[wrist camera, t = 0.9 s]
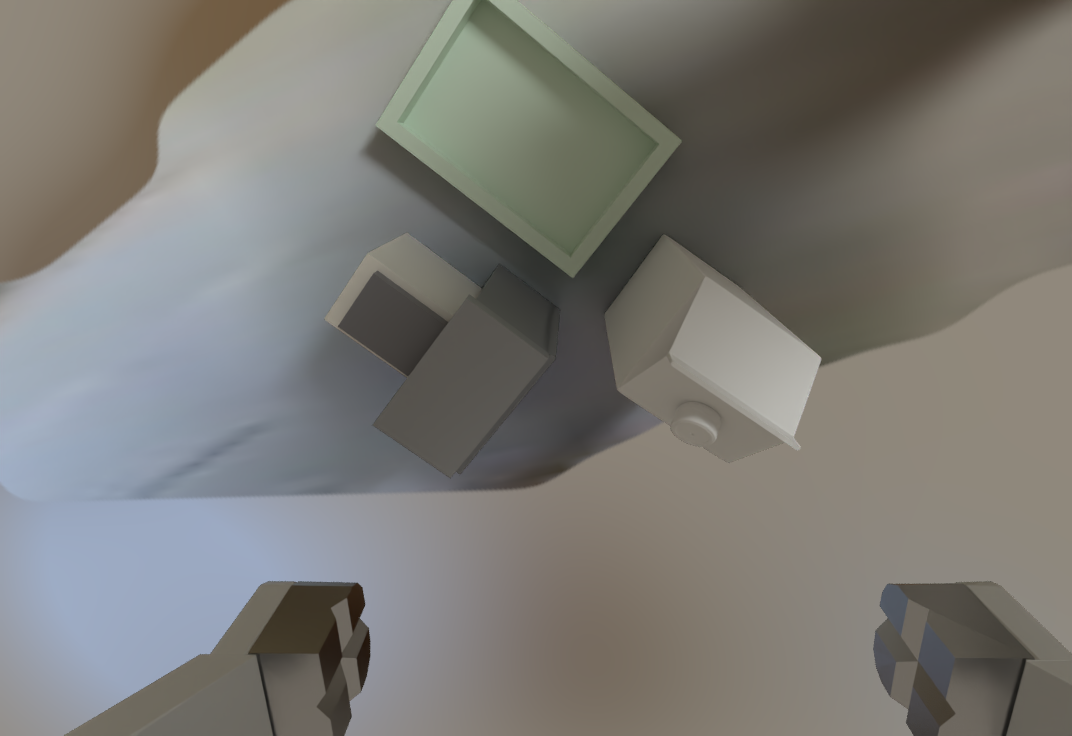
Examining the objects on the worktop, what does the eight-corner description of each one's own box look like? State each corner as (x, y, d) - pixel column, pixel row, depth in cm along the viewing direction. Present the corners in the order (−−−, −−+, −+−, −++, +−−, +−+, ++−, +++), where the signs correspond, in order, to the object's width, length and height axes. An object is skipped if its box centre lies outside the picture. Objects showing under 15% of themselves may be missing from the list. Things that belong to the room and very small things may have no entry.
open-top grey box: (493, 259, 45) (466, 298, 33) (560, 310, 46) (555, 364, 34) (420, 358, 47) (372, 425, 36) (484, 404, 48) (457, 483, 37)
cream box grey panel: (407, 232, 44) (363, 255, 35) (519, 316, 46) (506, 359, 37) (370, 287, 46) (318, 322, 37) (480, 367, 47) (457, 420, 38)
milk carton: (663, 232, 43) (725, 294, 25) (743, 289, 44) (858, 388, 26) (602, 314, 45) (620, 424, 28) (680, 367, 46) (747, 506, 29)
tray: (480, -26, 39) (474, -36, 37) (676, 141, 41) (682, 140, 39) (385, 126, 42) (375, 125, 40) (572, 271, 45) (572, 278, 42)
